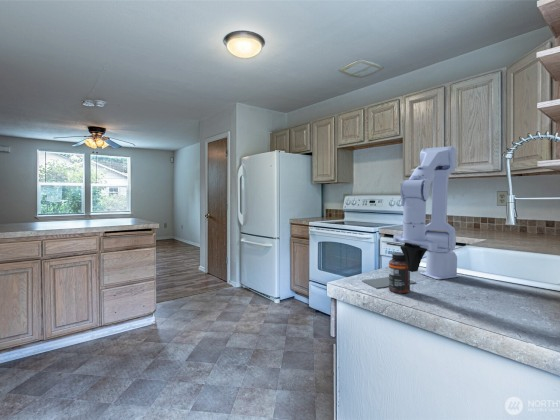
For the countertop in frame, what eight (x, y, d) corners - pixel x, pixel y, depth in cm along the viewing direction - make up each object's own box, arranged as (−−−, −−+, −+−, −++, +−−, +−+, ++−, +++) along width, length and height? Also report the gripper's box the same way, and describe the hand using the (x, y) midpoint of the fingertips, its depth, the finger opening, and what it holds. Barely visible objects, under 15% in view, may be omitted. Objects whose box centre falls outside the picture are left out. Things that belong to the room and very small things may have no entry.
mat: (398, 276, 108) (398, 275, 108) (415, 283, 100) (416, 282, 100) (361, 281, 103) (361, 280, 103) (376, 288, 96) (376, 287, 96)
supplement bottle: (406, 287, 96) (407, 251, 95) (412, 294, 90) (413, 255, 89) (386, 287, 97) (386, 251, 96) (391, 293, 91) (391, 255, 90)
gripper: (385, 221, 92) (384, 266, 93) (422, 226, 79) (421, 279, 80) (404, 219, 95) (403, 264, 96) (444, 225, 81) (442, 276, 82)
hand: (413, 271), depth 88 cm, fingers closed
